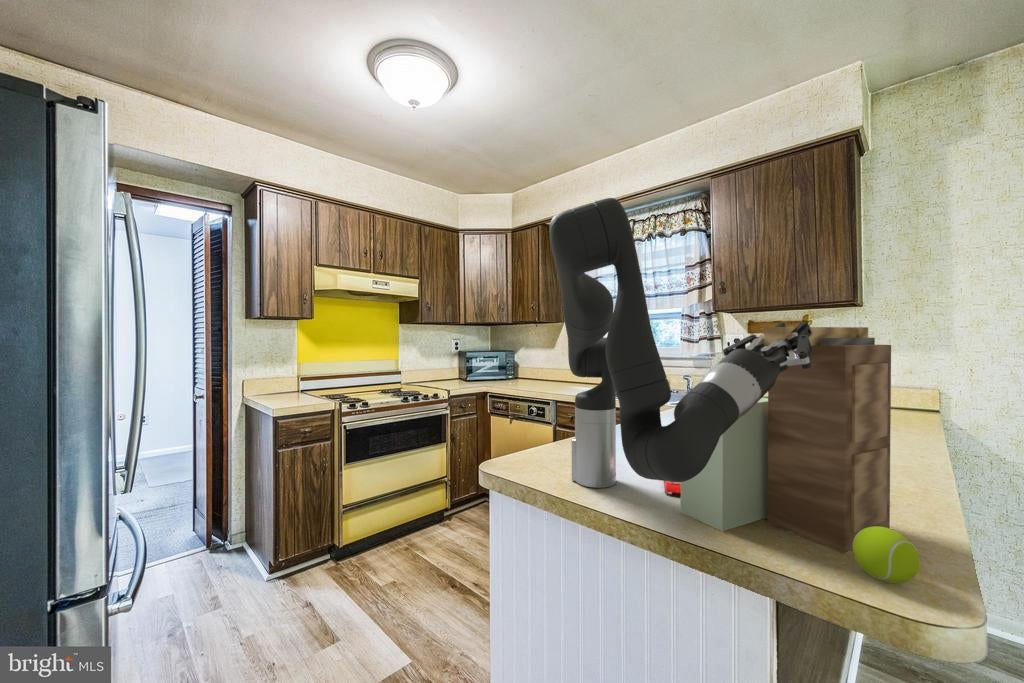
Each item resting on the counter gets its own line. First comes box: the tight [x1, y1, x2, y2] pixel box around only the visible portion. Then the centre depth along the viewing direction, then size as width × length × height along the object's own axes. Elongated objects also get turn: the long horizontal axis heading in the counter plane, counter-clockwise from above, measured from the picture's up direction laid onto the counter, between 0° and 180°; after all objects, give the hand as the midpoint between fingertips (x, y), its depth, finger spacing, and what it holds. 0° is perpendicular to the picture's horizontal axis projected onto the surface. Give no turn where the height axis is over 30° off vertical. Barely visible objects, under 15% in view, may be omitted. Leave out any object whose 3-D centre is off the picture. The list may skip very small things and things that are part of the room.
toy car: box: [663, 481, 681, 498], centre depth 95 cm, size 12×5×3 cm, turn 161°
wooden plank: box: [762, 326, 869, 346], centre depth 72 cm, size 24×4×3 cm, turn 116°
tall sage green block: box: [680, 397, 768, 532], centre depth 81 cm, size 16×9×22 cm, turn 116°
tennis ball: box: [852, 526, 921, 584], centre depth 59 cm, size 7×7×7 cm
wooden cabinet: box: [767, 337, 892, 554], centre depth 74 cm, size 14×12×33 cm
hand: (794, 327), depth 70 cm, fingers closed on wooden plank, 3 cm apart
